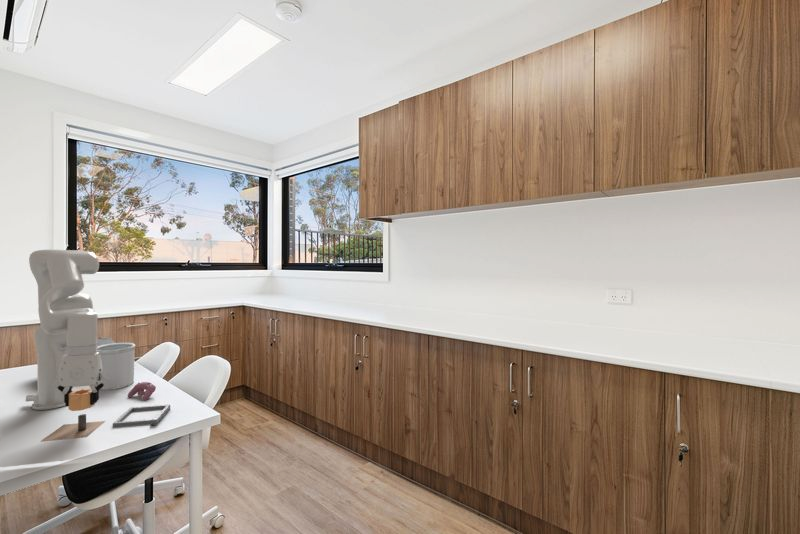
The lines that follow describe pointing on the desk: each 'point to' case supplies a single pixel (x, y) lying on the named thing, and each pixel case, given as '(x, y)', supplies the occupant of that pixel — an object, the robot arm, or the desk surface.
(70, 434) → the base
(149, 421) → the tray
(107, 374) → the utensil holder
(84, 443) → the desk surface
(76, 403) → the collar
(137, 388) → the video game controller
